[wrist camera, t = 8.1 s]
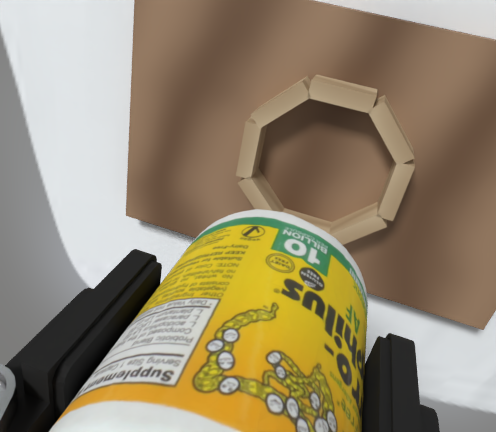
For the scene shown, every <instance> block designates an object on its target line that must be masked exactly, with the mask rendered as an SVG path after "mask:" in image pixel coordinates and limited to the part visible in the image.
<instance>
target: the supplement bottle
mask: <svg viewBox="0 0 496 432" xmlns="http://www.w3.org/2000/svg"><path fill="white" fill-rule="evenodd" d="M367 307H368V301H367V291H366V287H365V283H364V280H363V277H362V274H361V272H360V270H359V268H358V266H357V264H356V262H355V261H354V259H353V258H352V256H351V255H350V254H349V252H348V251H347V249H346V248H345V247H344V246H343V245H342V244H341V243H340V242H339V241H338V240H337V239H336V238H334V237H333V236H331V235H330V234H328V233H327V232H325V231H324V230H322V229H320V228H318V227H316V226H314V225H313V224H311V223H309V222H307V221H305V220H303V219H300V218H298V217H296V216H294V215H291V214H287V213H284V212H278V211H270V210H260V209H254V210H248V211H243V212H238V213H234V214H231V215H228V216H226V217H224V218H222V219H219V220H217V221H216V222H214V223H213V224H211V225H210V226H208V227H207V228H206V229H205V230H204V231H202V232H201V233H200V234H199V235H198V237H197V238H196V239H195V240H194V241H193V242H192V244H191V245H190V246H189V247H188V248H187V250H186V251H185V252H184V253H183V255H182V256H181V257H180V259H179V260H178V261H177V263H176V264H175V265H174V267H173V268H172V269H171V270H170V272H169V273H168V275H167V276H166V277H165V279H164V280H163V282H162V283H161V284H160V285H159V287H158V288H157V289H156V291H155V292H154V293H153V295H152V296H151V297H150V299H149V300H148V301H147V303H146V304H145V305H144V307H143V308H142V309H141V311H140V312H139V313H138V315H137V316H136V317H135V319H134V320H133V321H132V323H131V324H130V325H129V326H128V327H127V329H126V330H125V331H124V333H123V334H122V335H121V337H120V338H119V339H118V341H117V342H116V343H115V345H114V346H113V347H112V348H111V350H110V351H109V352H108V354H107V355H106V356H105V358H104V359H103V361H102V362H101V363H100V365H99V366H98V367H97V368H96V370H95V371H94V372H93V374H92V375H91V376H90V378H89V379H88V380H87V381H86V383H85V384H84V385H83V387H82V388H81V389H80V391H79V392H78V393H77V395H76V396H75V398H74V399H73V400H72V402H71V403H70V404H69V406H68V407H67V408H66V410H65V411H64V412H63V414H62V415H61V416H60V418H59V419H58V420H57V422H56V423H55V424H54V425H53V427H52V428H51V429H50V431H49V432H362V408H363V382H364V368H365V349H366V330H367Z"/></svg>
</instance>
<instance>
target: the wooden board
mask: <svg viewBox="0 0 496 432" xmlns="http://www.w3.org/2000/svg"><path fill="white" fill-rule="evenodd" d="M254 209H260V210H270V211H278V212H284V213H287V214H291V215H294V216H296V217H298V218H300V219H303V220H305V221H307V222H309V223H311V224H313V225H314V226H316V227H318V228H320V229H322V230H324V231H325V232H327V233H328V234H330V235H331V236H333V237H334V238H336V239H337V240H338V241H339V242H340V243H341V244H342V245H343V246H344V247H345V248H346V249H347V251H348V252H349V254H350V255H351V256H352V258H353V259H354V261H355V262H356V264H357V266H358V268H359V270H360V272H361V274H362V277H363V280H364V283H365V287H366V291H367V293H370V294H373V295H376V296H379V297H382V298H385V299H388V300H391V301H395V302H398V303H401V304H404V305H407V306H410V307H413V308H416V309H420V310H423V311H426V312H429V313H432V314H435V315H438V316H441V317H445V318H448V319H451V320H454V321H457V322H460V323H463V324H466V325H470V326H473V327H476V328H479V329H482V330H483V329H484V328H485V326H486V325H487V323H488V321H489V320H490V318H491V317H492V315H493V313H494V312H495V310H496V40H494V39H490V38H485V37H480V36H476V35H471V34H467V33H462V32H457V31H453V30H448V29H443V28H439V27H434V26H429V25H425V24H420V23H416V22H411V21H406V20H402V19H397V18H392V17H388V16H383V15H378V14H374V13H369V12H365V11H360V10H355V9H351V8H346V7H341V6H337V5H332V4H327V3H323V2H318V1H314V0H135V3H134V28H133V52H132V77H131V102H130V126H129V151H128V175H127V200H126V216H129V217H132V218H135V219H138V220H141V221H145V222H148V223H151V224H154V225H157V226H160V227H163V228H166V229H170V230H173V231H176V232H179V233H182V234H185V235H188V236H191V237H195V238H197V237H198V235H199V234H200V233H201V232H202V231H204V230H205V229H206V228H207V227H208V226H210V225H211V224H213V223H214V222H216V221H217V220H219V219H222V218H224V217H226V216H228V215H231V214H234V213H238V212H243V211H248V210H254Z"/></svg>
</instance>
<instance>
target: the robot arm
mask: <svg viewBox="0 0 496 432" xmlns="http://www.w3.org/2000/svg"><path fill="white" fill-rule="evenodd" d="M161 269H162V265H161V264H160V263H158V262H157V259H156V256H155V255H152V254H149V253H146V252H143V251H140V250H137V249H134V250H132V251H131V252H130V253H129V254H128V255H127V256H126V257H125V258H124V259H123V260H122V261H121V262H120V263H119V264H118V265H117V266H116V267H115V268H114V269H113V270H112V271H111V272H110V273H109V274H108V275H107V276H106V277H105V278H104V279H103V280H102V281H101V282H100V283H99V284H98V285H97V286H96V287H95V288H94V289H91V288H87V289H84V290H83V291H82V292H81V293H79V294H78V295H77V296H76V297H75V298H74V299H73V300H72V301H71V302H70V303H69V304H68V305H67V306H66V307H65V308H64V309H63V310H62V311H61V312H60V313H59V314H58V315H57V316H56V317H55V318H54V319H53V320H51V321H50V322H49V323H48V325H46V326H45V327H44V328H43V329H42V330H41V331H40V332H39V333H38V334H37V335H36V336H35V337H34V338H33V339H32V340H31V341H30V342H29V343H28V344H27V345H26V346H25V347H24V348H23V349H22V350H21V351H20V352H19V353H18V354H17V355H16V356H15V357H13V359H11V360H10V361H9V362H8V363H7V365H5V366H4V365H2V364H0V432H49V431H50V429H51V428H52V427H53V425H54V424H55V423H56V422H57V420H58V419H59V418H60V416H61V415H62V414H63V412H64V411H65V410H66V408H67V407H68V406H69V404H70V403H71V402H72V400H73V399H74V398H75V396H76V395H77V393H78V392H79V391H80V389H81V388H82V387H83V385H84V384H85V383H86V381H87V380H88V379H89V378H90V376H91V375H92V374H93V372H94V371H95V370H96V368H97V367H98V366H99V365H100V363H101V362H102V361H103V359H104V358H105V356H106V355H107V354H108V352H109V351H110V350H111V348H112V347H113V346H114V345H115V343H116V342H117V341H118V339H119V338H120V337H121V335H122V334H123V333H124V331H125V330H126V329H127V327H128V326H129V325H130V324H131V323H132V321H133V320H134V319H135V317H136V316H137V315H138V313H139V312H140V311H141V309H142V308H143V307H144V305H145V304H146V303H147V301H148V300H149V299H150V297H151V296H152V295H153V293H154V292H155V291H156V289H157V288H158V287H159V285H160V279H161ZM362 432H440V431H439V423H438V417H437V413H436V412H435V410H434V409H432V408H429V407H426V406H423V405H420V401H419V389H418V377H417V365H416V353H415V344H414V342H413V341H412V340H409V339H406V338H403V337H400V336H397V335H394V334H391V333H389V334H388V335H387V336H386V338H383V337H380V336H379V337H378V338H377V340H376V342H375V344H374V346H373V348H372V350H371V352H370V355H369V357H368V359H367V361H366V363H365V368H364V382H363V408H362Z"/></svg>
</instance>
